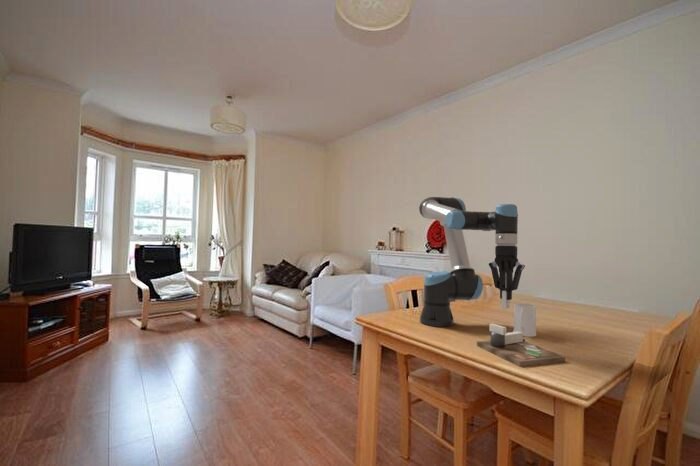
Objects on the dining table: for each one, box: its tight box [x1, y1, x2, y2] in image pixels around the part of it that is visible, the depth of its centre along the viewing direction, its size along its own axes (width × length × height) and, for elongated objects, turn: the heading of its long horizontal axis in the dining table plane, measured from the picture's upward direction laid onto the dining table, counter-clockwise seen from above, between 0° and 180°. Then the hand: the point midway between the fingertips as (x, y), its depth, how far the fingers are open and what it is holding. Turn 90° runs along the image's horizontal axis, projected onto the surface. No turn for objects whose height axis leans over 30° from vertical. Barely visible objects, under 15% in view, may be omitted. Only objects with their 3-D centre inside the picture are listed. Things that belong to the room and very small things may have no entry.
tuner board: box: [476, 339, 566, 367], centre depth 110 cm, size 20×18×2 cm
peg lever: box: [488, 323, 526, 347], centre depth 116 cm, size 16×6×7 cm, turn 116°
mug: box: [512, 302, 537, 338], centre depth 133 cm, size 12×8×12 cm
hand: (505, 308), depth 121 cm, fingers closed
